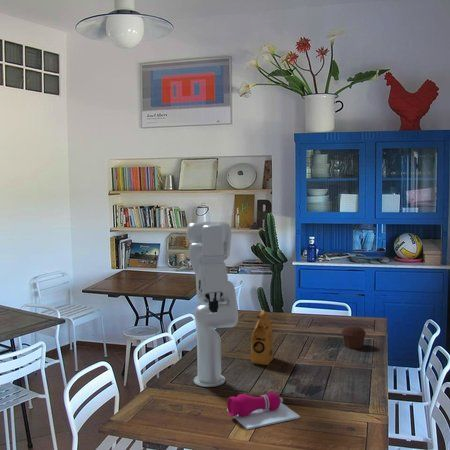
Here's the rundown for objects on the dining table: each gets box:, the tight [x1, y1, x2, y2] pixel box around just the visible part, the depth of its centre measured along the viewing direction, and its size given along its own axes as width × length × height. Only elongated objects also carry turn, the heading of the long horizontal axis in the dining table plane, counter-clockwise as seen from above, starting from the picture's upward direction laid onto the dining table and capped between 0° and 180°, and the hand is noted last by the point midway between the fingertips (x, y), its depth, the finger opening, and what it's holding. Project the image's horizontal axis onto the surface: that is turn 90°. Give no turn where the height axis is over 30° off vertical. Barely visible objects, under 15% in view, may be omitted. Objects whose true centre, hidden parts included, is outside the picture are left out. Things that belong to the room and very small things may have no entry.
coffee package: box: [250, 309, 274, 366], centre depth 236 cm, size 10×12×22 cm
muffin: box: [340, 324, 366, 350], centre depth 256 cm, size 12×11×10 cm
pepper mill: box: [226, 391, 284, 417], centre depth 181 cm, size 7×7×20 cm
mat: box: [226, 402, 301, 430], centre depth 182 cm, size 16×20×1 cm
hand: (213, 311), depth 184 cm, fingers closed
